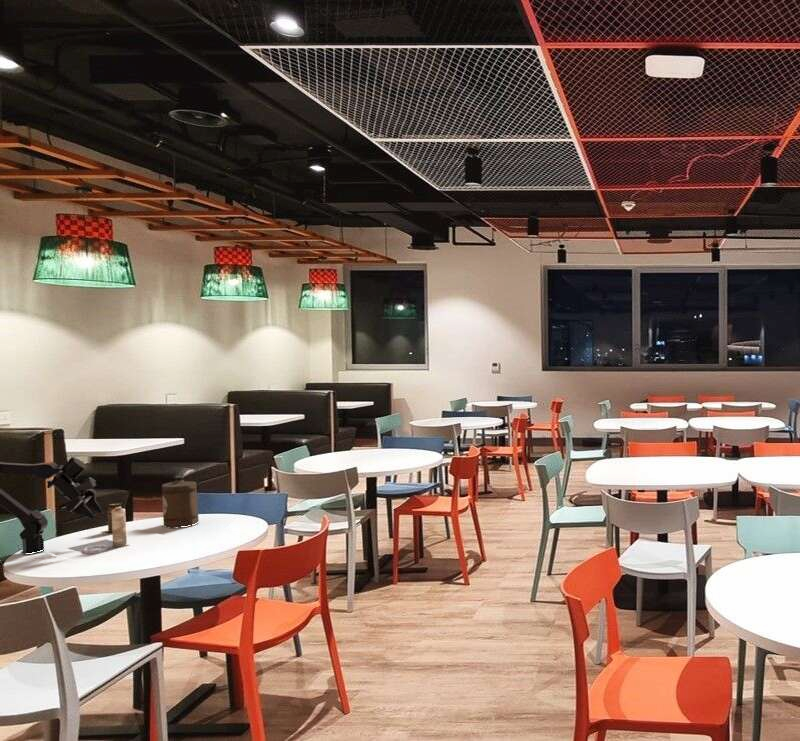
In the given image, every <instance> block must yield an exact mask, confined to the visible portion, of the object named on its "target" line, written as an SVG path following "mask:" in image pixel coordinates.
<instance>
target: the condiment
mask: <svg viewBox="0 0 800 741" xmlns="http://www.w3.org/2000/svg"><path fill="white" fill-rule="evenodd" d="M107 506H108V508H107V509H108V510H107V528H108V530H103V531H102V530H101V533H102V534H103V535H105V536H107V535H113V534H112V510H114V509H115V507H122V503H121V502H115V503H109V504H108V505H107Z"/></svg>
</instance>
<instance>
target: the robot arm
mask: <svg viewBox="0 0 800 741" xmlns="http://www.w3.org/2000/svg"><path fill="white" fill-rule="evenodd" d="M86 469H87V465H86V464H85V463H84V462H83V461H82V460H80V459H78V458H76V457H75V456H72V457H70V458H69V459H68V461H67V462H66V463H65V464H64V465H61V464H57V463H56V462H54V461H48V462H40V463H34V464H33V463H18V462H17V463H14V462H4V461H0V475H1V474H10V475H29V476H33V477H35V478H37V479H38V478H39V479H44V480H47V486H46V488H47V489H51V488H52V487H54V488H56V489H57V490H58V491H59V493H61V494H62V495H61V496H62V497H63V498H67V499H68V500H69V501H68V503H66V505H65V510H66V511H67V512H68V513H70V512H71V513H74V514H78V515H81V516H85V517H88V518H91V519H94V517H95V515H94V513H93V512H92V511H94V512H96V513H98V514H101V513H103V509H102V508H101V506H100V505H99V502H98V501H97V491H96V489H94V488H95V487H96V486H97V483H96V482H97V481H96V479H94V478H93V477H91V476H90V477H87V478H85V480H84V482H83V483H81V484H80V483H79V482H76V483H75V482H74V481H73V480H74V479H75V480H76V479H77V478H78V477H79V476H80V475H81V474H82V473H83V472H84V471H85V470H86ZM59 473H60V474H59ZM58 474H59V475H58ZM52 477H53V478H52ZM50 478H52V479H51V480H48V479H50ZM72 479H73V480H72ZM0 506H1V507H2V508H4V509H5V510H7V512H9V513H10V514H11V515H13V516H14V517H15V518H16V519H18V520H19V522H20V524H21V525H22V528H23V529H22V530H21V532H20V533H19V537H20V539H21V540H22V544H21V545H22V550H21V551H20V554H23V553H32V552H37V551H40V550H43V551H44V550H45V542H44V538H43V533H44V530H46V529H47V527H48V525H49V524H48V519H47V518H46V516H47V515H45V514H43V513H42V512H40V510H38V509H36V510H33V511H32V510H29V509H28V508H26V507H25V506H24V505H23V504H21V503H20V502H18V501H17V500H16V499H15V498H13V497H12V496H11V495H9V494H8V493H7V492H5V490H3V489H2V488H0ZM44 552H45V551H44Z"/></svg>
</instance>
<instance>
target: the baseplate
mask: <svg viewBox="0 0 800 741" xmlns="http://www.w3.org/2000/svg"><path fill="white" fill-rule="evenodd" d="M128 546H130V544H128V543H127V545H126V546H124V547H125V548H126V547H128ZM124 547H123V548H124ZM121 548H122V547H113V540H109V539H107V538H105V539H102V540H97V541H93V542H88V543H84V544H80V545H74V546H71V547H68V548H67V549H69V550H73V551H76V552H79V553H83V554H87V555H96V554H100V553H104V552H108V551H112V550H117V549H121Z"/></svg>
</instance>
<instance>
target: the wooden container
mask: <svg viewBox="0 0 800 741" xmlns="http://www.w3.org/2000/svg"><path fill="white" fill-rule="evenodd" d="M161 488H162V516H163V517H162V519H163V527H164V526H166V527H181V526H188V525H192V524H195V523H197V522H198V521H199V505H198V504H199V503H198V491H197V490H198V489H197V488H198V487H197V482H196V481H193V480H192V481H191V480H190V481H189V480H184V476H183V475H182V474H177V475H175V480H174V481H171V482H166V483H163V484H162V486H161ZM166 527H165V528H166Z"/></svg>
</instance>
